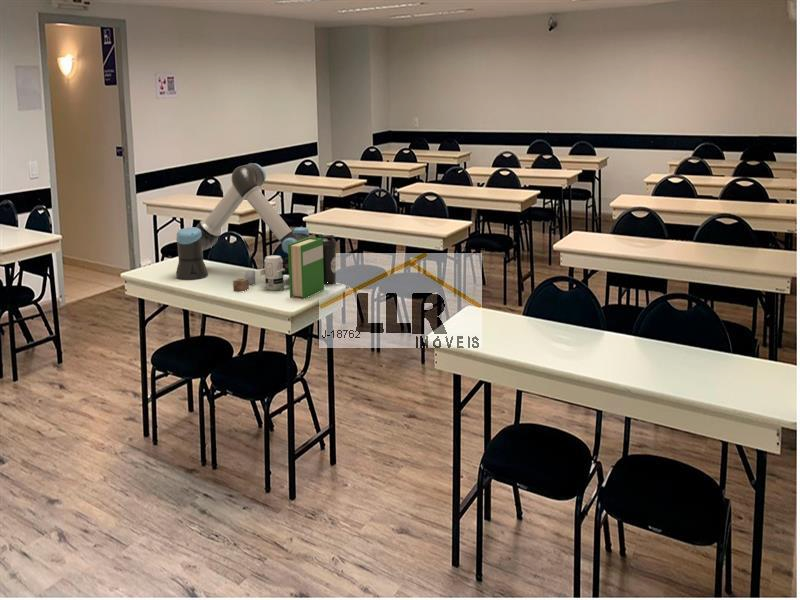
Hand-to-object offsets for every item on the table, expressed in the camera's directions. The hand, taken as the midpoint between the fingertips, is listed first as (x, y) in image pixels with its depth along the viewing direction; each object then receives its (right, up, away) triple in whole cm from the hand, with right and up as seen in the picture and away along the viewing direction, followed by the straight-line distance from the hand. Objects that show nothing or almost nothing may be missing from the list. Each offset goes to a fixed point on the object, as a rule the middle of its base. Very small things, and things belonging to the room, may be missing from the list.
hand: (268, 273), depth 338 cm
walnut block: (-13, -7, +4) cm, 16 cm away
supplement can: (+2, -7, +7) cm, 9 cm away
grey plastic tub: (-11, -4, +14) cm, 19 cm away
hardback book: (+18, -9, -1) cm, 20 cm away
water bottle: (+25, -4, +17) cm, 30 cm away
